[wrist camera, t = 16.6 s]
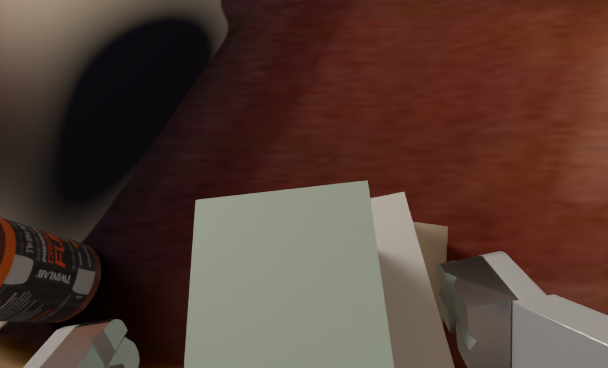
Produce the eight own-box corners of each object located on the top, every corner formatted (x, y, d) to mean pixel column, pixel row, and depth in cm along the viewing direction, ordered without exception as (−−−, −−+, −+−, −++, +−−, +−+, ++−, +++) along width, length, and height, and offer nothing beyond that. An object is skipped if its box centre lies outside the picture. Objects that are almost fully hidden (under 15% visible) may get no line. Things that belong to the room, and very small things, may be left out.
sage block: (267, 365, 15) (182, 397, 8) (265, 254, 17) (195, 200, 10) (380, 359, 15) (396, 388, 8) (365, 244, 17) (367, 180, 10)
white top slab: (254, 432, 18) (226, 458, 14) (240, 245, 22) (215, 228, 18) (448, 404, 17) (471, 425, 14) (397, 215, 21) (404, 191, 18)
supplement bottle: (121, 266, 27) (-34, 227, 16) (68, 339, 25) (-140, 347, 15) (72, 230, 28) (-94, 174, 18) (20, 295, 27) (-194, 275, 17)
